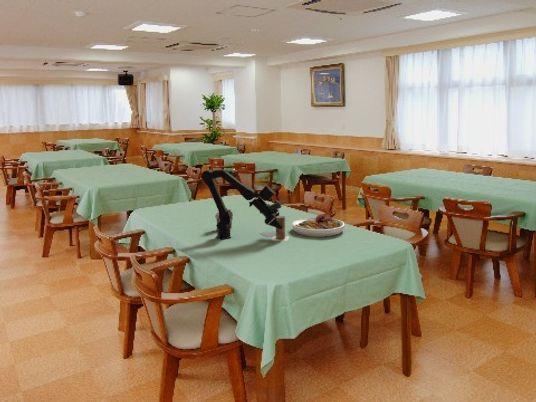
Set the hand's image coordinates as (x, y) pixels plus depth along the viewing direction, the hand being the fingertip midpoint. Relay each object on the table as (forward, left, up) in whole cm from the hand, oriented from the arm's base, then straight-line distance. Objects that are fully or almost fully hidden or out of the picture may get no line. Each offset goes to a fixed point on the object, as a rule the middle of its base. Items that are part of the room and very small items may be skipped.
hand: (282, 226), depth 268 cm
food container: (-18, +39, -7) cm, 43 cm away
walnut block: (-1, +1, -7) cm, 7 cm away
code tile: (-1, +1, -7) cm, 7 cm away
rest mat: (-1, +12, -7) cm, 14 cm away
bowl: (+26, +3, -7) cm, 27 cm away
